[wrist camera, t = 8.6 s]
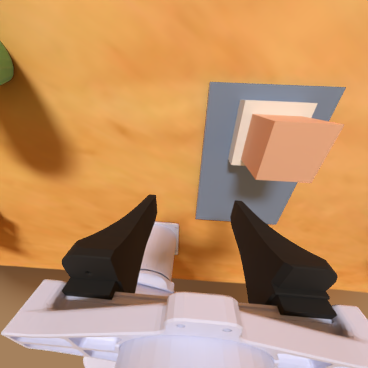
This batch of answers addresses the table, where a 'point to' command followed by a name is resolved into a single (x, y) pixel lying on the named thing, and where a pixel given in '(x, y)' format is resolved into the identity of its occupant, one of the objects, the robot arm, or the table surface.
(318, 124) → the terracotta block
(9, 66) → the mug
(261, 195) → the board
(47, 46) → the table surface
